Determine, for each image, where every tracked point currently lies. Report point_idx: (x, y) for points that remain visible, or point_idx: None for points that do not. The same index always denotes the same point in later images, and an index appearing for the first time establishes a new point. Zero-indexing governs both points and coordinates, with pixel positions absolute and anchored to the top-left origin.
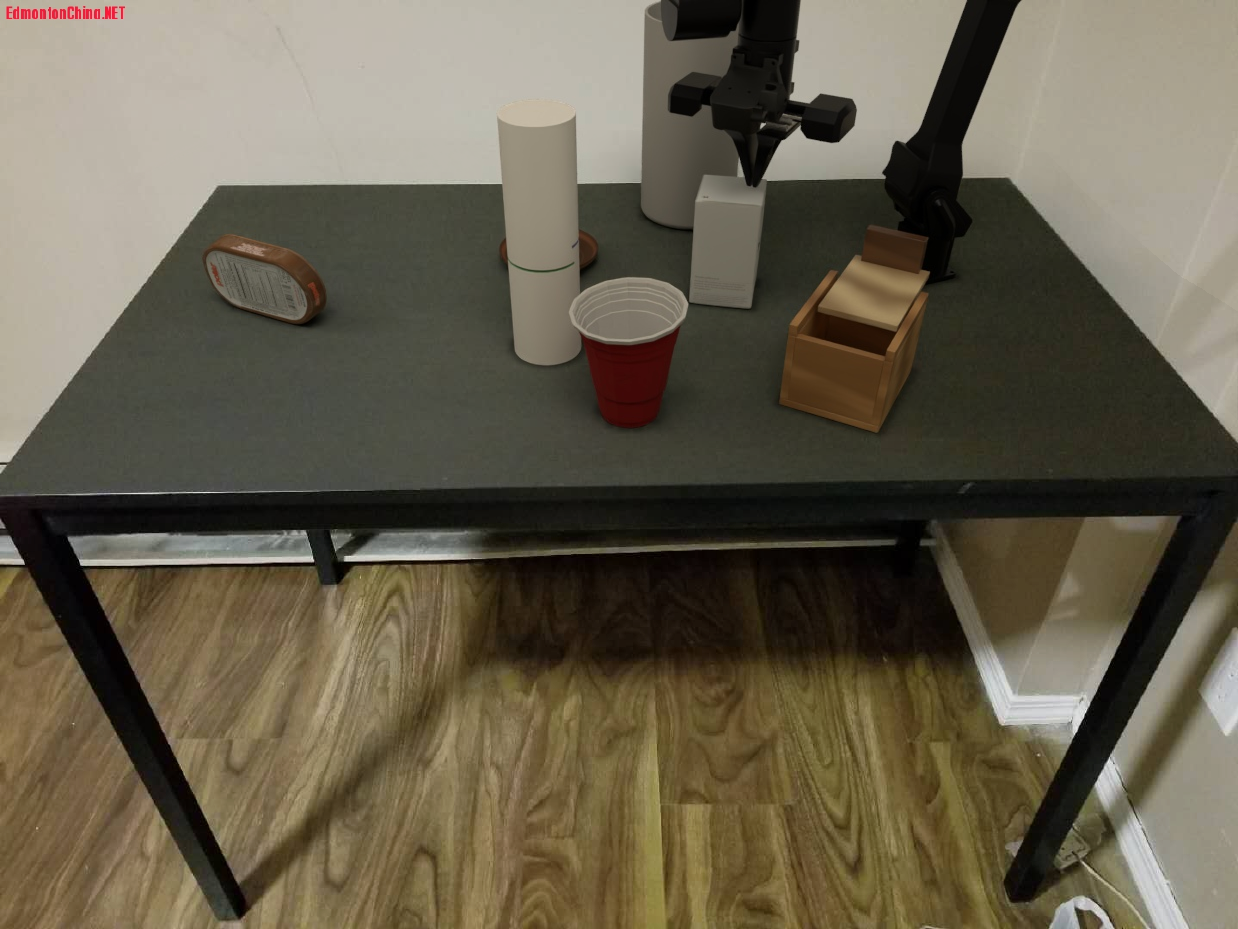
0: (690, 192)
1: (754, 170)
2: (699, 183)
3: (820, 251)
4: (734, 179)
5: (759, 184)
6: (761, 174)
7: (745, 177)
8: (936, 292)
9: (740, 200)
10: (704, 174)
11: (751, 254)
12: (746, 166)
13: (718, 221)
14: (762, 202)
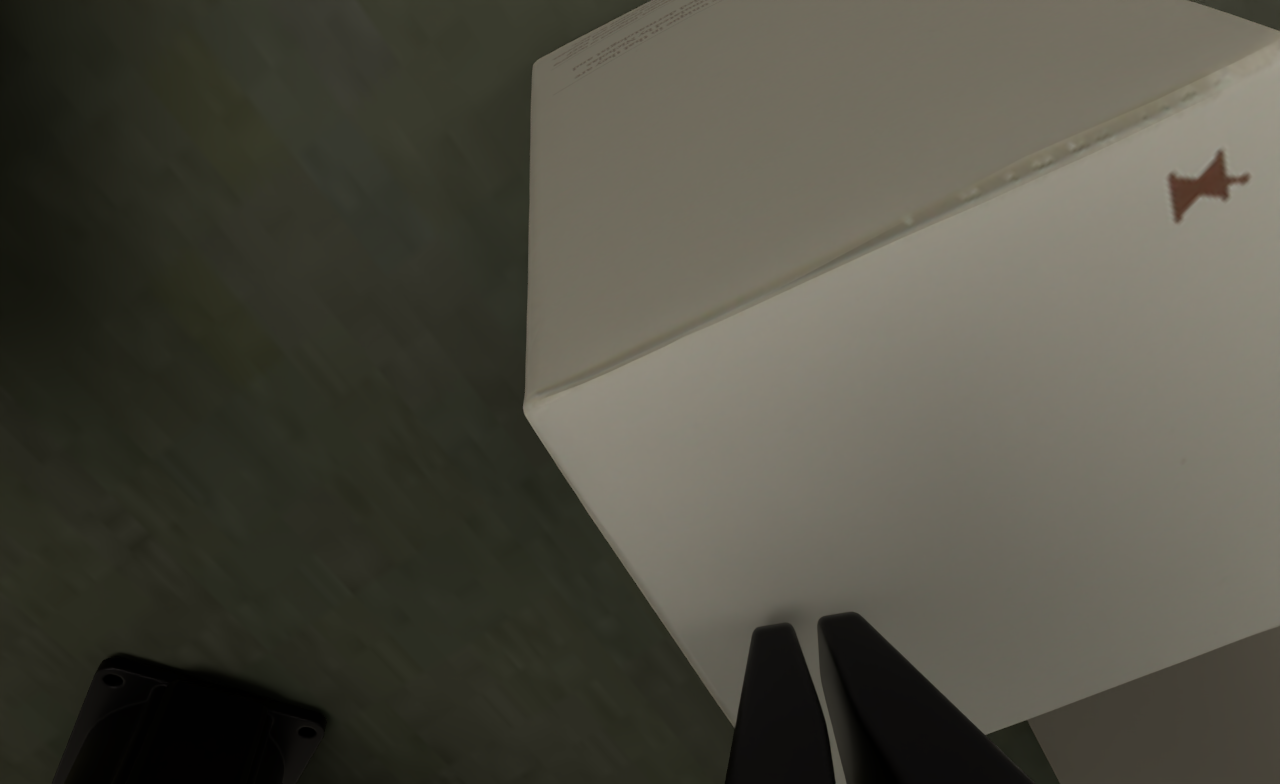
0: (1263, 638)
1: (817, 772)
2: (1251, 700)
3: (576, 665)
4: (1035, 667)
5: None
6: (732, 769)
7: (900, 667)
8: (21, 673)
9: (780, 355)
10: (1259, 755)
11: (560, 162)
12: (942, 779)
13: (899, 98)
14: (560, 466)
